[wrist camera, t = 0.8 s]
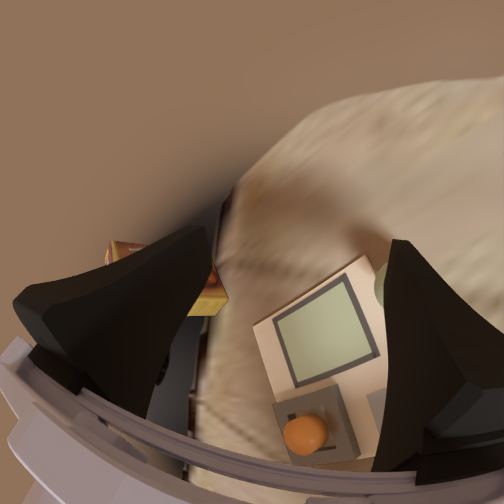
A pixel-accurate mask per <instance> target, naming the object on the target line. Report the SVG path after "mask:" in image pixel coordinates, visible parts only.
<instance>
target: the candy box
mask: <svg viewBox="0 0 504 504" xmlns="http://www.w3.org/2000/svg"><path fill="white" fill-rule="evenodd" d="M147 246H149V245H143V244H134V243H126V242H119V241H110V244H109V247H108V250H107V253H106V257H105V265H108V264H110V263H113V262H115V261H117V260H120V259H122V258H124V257H126V256H128V255H130V254H132V253H134V252H136V251H138V250H141V249H143V248H145V247H147ZM211 260H212V259H211ZM212 265H213V269H212V271H211V274H210V276H209V279H208V281H207V283H206V285H205V287H204V289H203V291H202V292H201V294H200V296H199V297H198V299H197V301H196V302H195V304H194V305H193V307H192V309H191V310H190V312H189V313H188V315H187V316H190V315H191V316H195V315H196V316H197V315H216V314H217V312H218V311H219V310H220V309H221V308H222V307H223V305H224V304H225V303H226V302H227V301H228V297H227V295H226V292H225V290H224V288H223V285H222V283H221V281H220V278H219V276H218V274H217V271H216V269H215V267H214V264H213V262H212Z"/></svg>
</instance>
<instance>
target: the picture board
mask: <svg viewBox="0 0 504 504" xmlns="http://www.w3.org/2000/svg"><path fill="white" fill-rule="evenodd" d="M375 278H376V274H375V272H374V270H373V268H372V266H371V264H370V262H369V260H368V258H367V256H366V255H363V256H362V257H360V258H359V259H358V260H356V261H355V262H353V263H352V264H350V265H349V266H347V267H346V268H344V269H343V270H342V271H340V272H339V273H337V274H336V275H334V276H333V277H331V278H330V279H328V280H327V281H325V282H324V283H322V284H321V285H319V286H318V287H316V288H314V289H313V290H311V291H310V292H308V293H307V294H305V295H304V296H302V297H301V298H299V299H297V300H296V301H294V302H293V303H291V304H289V305H288V306H286V307H285V308H283V309H281V310H280V311H278V312H277V313H275V314H273V315H272V316H270V317H268V318H267V319H265V320H263V321H262V322H260V323H258V324H257V325H255V326H253V330H254V333H255V337H256V340H257V343H258V346H259V349H260V352H261V356H262V359H263V362H264V365H265V368H266V371H267V374H268V378H269V381H270V384H271V387H272V390H273V393H274V396H275V399H276V402H280V401H283V400H287V399H291V398H294V397H298V396H301V395H304V394H308V393H311V392H314V391H317V390H320V389H323V388H326V387H329V386H332V385H335V384H338V386H339V389H340V392H341V395H342V398H343V401H344V403H345V406H346V409H347V412H348V415H349V418H350V421H351V424H352V427H353V430H354V433H355V436H356V439H357V442H358V445H359V449H360V452H361V455H360V456H359V457H358V458H357V459H363V458H369V457H374V456H375V455H376V450H377V446H378V442H379V437H380V432H381V427H382V421H383V415H384V407H385V400H386V390H387V378H388V351H387V338H386V328H385V318H384V308H383V307H382V306H381V305H380V304H379V303H378V301H377V299H376V296H375V293H374V282H375ZM304 414H315V415H317V416H319V417H320V418H321V419H322V420H323V421H324V422H325V423H326V425H327V427H328V431H329V437H328V440H327V442H326V443H325V444H324V445H323V446H322V447H329V446H335V445H336V444H335V441H334V438H333V435H332V432H331V430H330V427H329V424H328V421H327V418H326V415H325V412H324V409H323V406H321V407H318V408H314V409H310V410H306V411H302V412H298V413H295V416H296V418H298V417H300V416H302V415H304ZM322 447H320V448H322ZM357 459H356V460H357Z"/></svg>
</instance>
